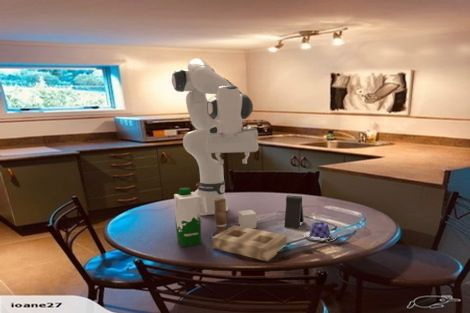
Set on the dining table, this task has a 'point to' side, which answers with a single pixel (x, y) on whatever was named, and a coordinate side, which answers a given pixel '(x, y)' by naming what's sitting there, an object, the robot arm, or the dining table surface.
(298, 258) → the dining table surface
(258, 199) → the dining table surface
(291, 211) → the black a-frame sign
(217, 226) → the walnut peg
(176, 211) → the milk carton
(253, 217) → the white cube
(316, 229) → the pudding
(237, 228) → the oak board
